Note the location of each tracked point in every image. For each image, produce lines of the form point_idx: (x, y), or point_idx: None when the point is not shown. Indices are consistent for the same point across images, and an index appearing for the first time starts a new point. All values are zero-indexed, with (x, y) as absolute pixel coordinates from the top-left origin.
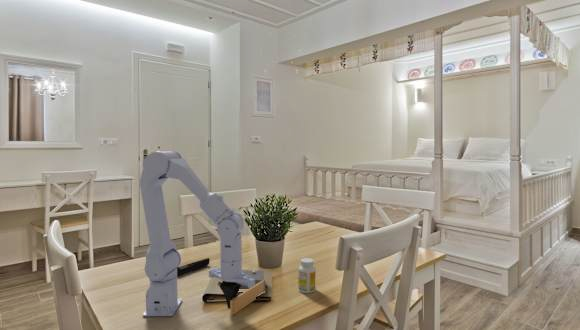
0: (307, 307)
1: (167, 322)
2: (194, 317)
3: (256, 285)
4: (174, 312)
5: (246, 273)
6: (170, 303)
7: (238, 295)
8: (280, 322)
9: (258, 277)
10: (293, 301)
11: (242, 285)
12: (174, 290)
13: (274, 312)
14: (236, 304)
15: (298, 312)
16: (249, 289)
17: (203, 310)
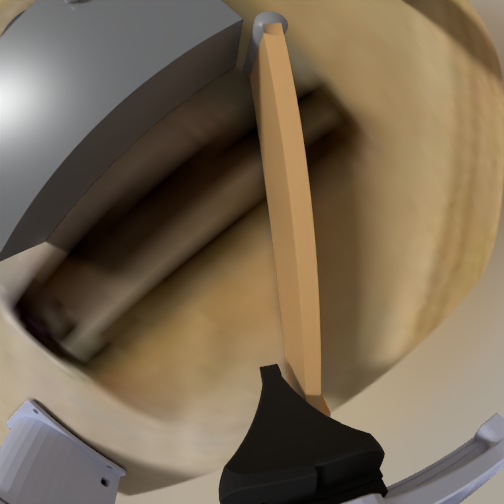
0: (486, 113)
1: (152, 484)
2: (179, 452)
3: (302, 146)
4: (109, 460)
5: (35, 40)
6: (97, 487)
7: (308, 387)
8: (474, 273)
9: (170, 4)
10: (435, 82)
11: (102, 147)
12: (62, 494)
13: (436, 225)
14: (322, 396)
15: (488, 167)
16: (310, 263)
17: (150, 416)
